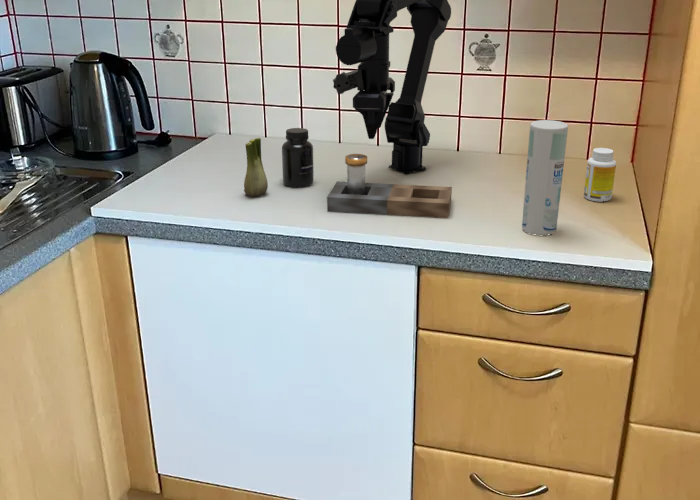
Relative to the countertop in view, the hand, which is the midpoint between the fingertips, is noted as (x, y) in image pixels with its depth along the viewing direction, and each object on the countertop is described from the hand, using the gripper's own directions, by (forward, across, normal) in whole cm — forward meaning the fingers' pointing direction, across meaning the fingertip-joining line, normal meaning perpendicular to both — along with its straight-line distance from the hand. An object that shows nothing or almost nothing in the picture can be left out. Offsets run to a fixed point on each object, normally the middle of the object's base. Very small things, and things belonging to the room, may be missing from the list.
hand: (374, 133), depth 159 cm
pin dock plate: (+12, +11, +5) cm, 17 cm away
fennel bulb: (+12, +8, -24) cm, 28 cm away
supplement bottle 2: (+12, 0, +47) cm, 48 cm away
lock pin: (+12, +11, -2) cm, 17 cm away
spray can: (+12, +20, +34) cm, 41 cm away
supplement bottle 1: (+12, 0, -17) cm, 21 cm away
